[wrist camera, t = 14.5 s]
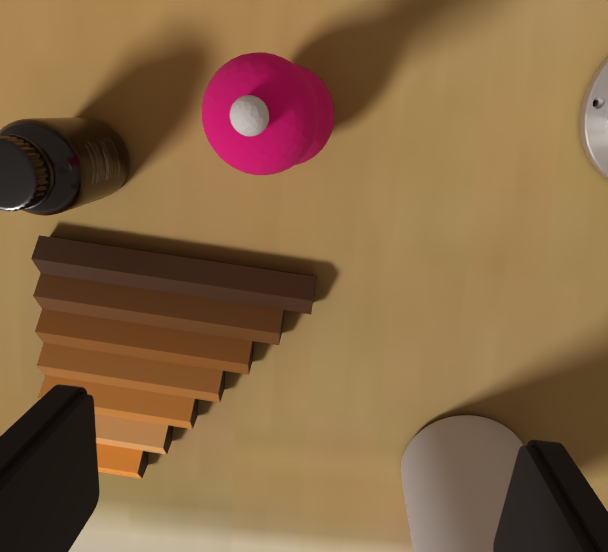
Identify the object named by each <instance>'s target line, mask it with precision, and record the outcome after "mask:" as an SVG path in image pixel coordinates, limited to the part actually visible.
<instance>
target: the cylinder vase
mask: <svg viewBox="0 0 608 552" xmlns="http://www.w3.org/2000/svg"><path fill="white" fill-rule="evenodd" d="M521 446H524V445H523V444H522V442H521V441H520V439H519V438H518V437H517V436H516V435H515V434H514V433H513V432H512V431H511V430H510V429H508V428H507V427H505V426H504V425H502V424H500V423H498V422H496V421H494V420H491V419H488V418H485V417H480V416H473V415H460V416H452V417H448V418H444V419H441V420H438V421H436V422H434V423H432V424H430V425H428V426H427V427H425V428H424V429H422V430H421V431H420V432H419V433H418V434H416V435H415V437H414V438H413V439H412V440H411V441H410V443H409V444H408V446H407V448H406V450H405V452H404V454H403V458H402V462H401V479H402V485H403V491H404V497H405V503H406V509H407V515H408V521H409V527H410V533H411V539H412V545H413V551H414V552H493V544H494V539H495V535H496V532H497V528H498V524H499V520H500V517H501V513H502V509H503V506H504V502H505V498H506V495H507V491H508V487H509V484H510V480H511V476H512V473H513V469H514V465H515V461H516V458H517V454H518V451H519V448H520V447H521Z"/></svg>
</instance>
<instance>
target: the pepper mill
mask: <svg viewBox="0 0 608 552" xmlns="http://www.w3.org/2000/svg"><path fill="white" fill-rule="evenodd" d="M202 122H203V127H204V131H205V134H206V136H207V139H208V141H209V143H210V144H211V146H212V147H213V149H214V150H215V152H216V153H217V154H218V155H219V156H220V158H221V159H223V160H224V161H225V162H226V163H228V164H229V165H230V166H232V167H234V168H235V169H237V170H240V171H242V172H245V173H248V174H253V175H269V174H275V173H279V172H282V171H284V170H287V169H289V168H291V167H292V166H293V165H297V164H300V163H303V162H306V161H308V160H309V159H311V158H313V157H314V156H315V155H317V154H318V153H319V152H320V151H321V150H322V148H323V147H324V146H325V144H326V143H327V141H328V139H329V137H330V135H331V132H332V128H333V123H334V108H333V102H332V99H331V96H330V93H329V91H328V90H327V88H326V86H325V85H324V83H323V82H322V81H321V79H320V78H318V77H317V76H316V75H315V74H314V73H313V72H311V71H310V70H308V69H306V68H304V67H301V66H298V65H295V64H292V63H291V62H289V61H288V60H286V59H284V58H282V57H279V56H277V55H274V54H269V53H250V54H245V55H241V56H238V57H236V58H234V59H232V60H230V61H229V62H227V63H226V64H224V65H223V66H222V67H221V68H220V69H219V70H218V71H217V72H216V73H215V75H214V76H213V77H212V79H211V80H210V82H209V84H208V87H207V89H206V91H205V94H204V97H203V103H202Z"/></svg>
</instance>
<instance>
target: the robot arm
mask: <svg viewBox="0 0 608 552" xmlns="http://www.w3.org/2000/svg"><path fill="white" fill-rule="evenodd" d="M594 100H595V101H596V104H595V106H593V101H594ZM580 132H581V139H582V143H583V146H584V150H585V152H586V154H587V156H588V158H589V160H590V161H591V163H592V165H593V166H594V167H595V168H596V169H597V170H598V171H599V172H600V174H601V175H603V176H604V177H606V178H607V179H608V57H607V58H606V59H605V60H604V61H603V63H602V64H601V65H600V67H599V68H598V70H597V71H596V72H595V74H594V76H593V78H592V80H591V82H590V84H589V86H588V88H587V90H586V93H585V96H584V100H583V103H582V107H581V116H580ZM98 498H99V478H98V461H97V444H96V427H95V410H94V398H93V396H92V395H89V394H87V391H86V389H85V388H84V387H78V386H69V385H61V384H59V385H55V386H54V387H53V388H52V389H51V390H49V391H48V392H47V393H46V394H45V395H44V396H43V397H42V398H41V399H40V400H39V401H38V402H37V403H36V404H35V405H34V406H32V407H31V408H30V409H29V410H28V411H27V412H26V413H25V414H24V415H23V416H22V417H21V418H20V419H19V420H18V421H16V422H15V423H14V424H13V425H12V426H11V427H10V428H9V429H8V430H7V431H6V432H5V433H4V434H3V435H2V436H0V552H68V551H69V550H70V548H71V546H72V545H73V543H74V542H75V540H76V538H77V537H78V535H79V534H80V532H81V530H82V529H83V527H84V526H85V524H86V522H87V521H88V519H89V518H90V516H91V515H92V513H93V511H94V509H95V508H96V505H97V502H98ZM493 552H608V512H607V510H606V509H605V507H604V506H603V504H602V503H601V501H600V500H599V498H598V497H597V495H596V494H595V492H594V491H593V489H592V488H591V486H590V485H589V483H588V482H587V480H586V479H585V477H584V476H583V474H582V473H581V471H580V470H579V468H578V467H577V466H576V464H575V463H574V461H573V460H572V458H571V457H570V455H569V454H568V452H567V451H566V449H565V448H564V446H563V445H562V444H560V443H556V442H548V441H539V440H531V441H529V443H528V444H527V446H521V447H520V448H519V451H518V454H517V458H516V461H515V465H514V469H513V473H512V476H511V480H510V484H509V487H508V491H507V495H506V498H505V502H504V506H503V509H502V513H501V517H500V520H499V524H498V528H497V532H496V535H495V539H494V544H493Z"/></svg>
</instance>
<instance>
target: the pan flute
mask: <svg viewBox="0 0 608 552" xmlns="http://www.w3.org/2000/svg"><path fill="white" fill-rule="evenodd" d="M31 259H32V260H33V262H34V263H35V265H36V266H37V268H38V269H39V271H40V273H41V274H40V277H39V280H38V283H37V286H36V289H35V292H34V295H33V296H34V298H35V299H36V301H37V302H38V303H39V305H40V306H41V307H42V312H41V315H40V318H39V321H38V324H37V327H36V330H35V332H36V333H37V335H38V336H39V337H40V338H41V340H42V341H43V342H44V344H43V347H42V351H41V354H40V357H39V360H38V363H37V366H38V367H39V369H40V370H41V371H42V372H43V373H44V374H45V378H44V381H43V384H42V388H41V391H40V394H39V397H38V398H39V399H41V398H42V397H43V396H44V395H45V394H46V393H47V392H48V391H49V390H51V389H52V388H53V387H54V386H55V385H59V384H61V385H69V386H78V387H84V388H85V389H86V391H87V394H89V395H92V396H93V398H94V410H95V427H96V444H97V461H98V471H99V472H105V473H111V474H117V475H123V476H129V477H136V478H142V477H143V475H144V472H145V470H146V468H147V465H148V452H155V453H161V454H167V453H168V450H169V447H170V445H171V442H172V431H173V426H176V427H182V428H189V429H193V427H194V424H195V421H196V418H197V414H198V401H199V399H200V400H207V401H213V402H219V403H220V401H221V398H222V395H223V392H224V385H225V374H226V371H229V372H235V373H241V374H248V375H249V372H250V368H251V364H252V359H253V350H254V341H255V342H262V343H268V344H275V345H279V343H280V338H281V334H282V326H283V319H284V311H285V310H287V311H294V312H300V313H307V314H311V311H312V304H313V297H314V291H315V284H316V277H314V276H307V275H301V274H294V273H287V272H281V271H274V270H267V269H261V268H254V267H247V266H241V265H234V264H227V263H220V262H214V261H207V260H200V259H194V258H187V257H180V256H174V255H167V254H160V253H154V252H147V251H140V250H134V249H127V248H120V247H113V246H107V245H100V244H93V243H87V242H80V241H73V240H67V239H60V238H53V237H46V236H39V238H38V241H37V244H36V246H35V249H34V252H33V255H32V258H31Z"/></svg>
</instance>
